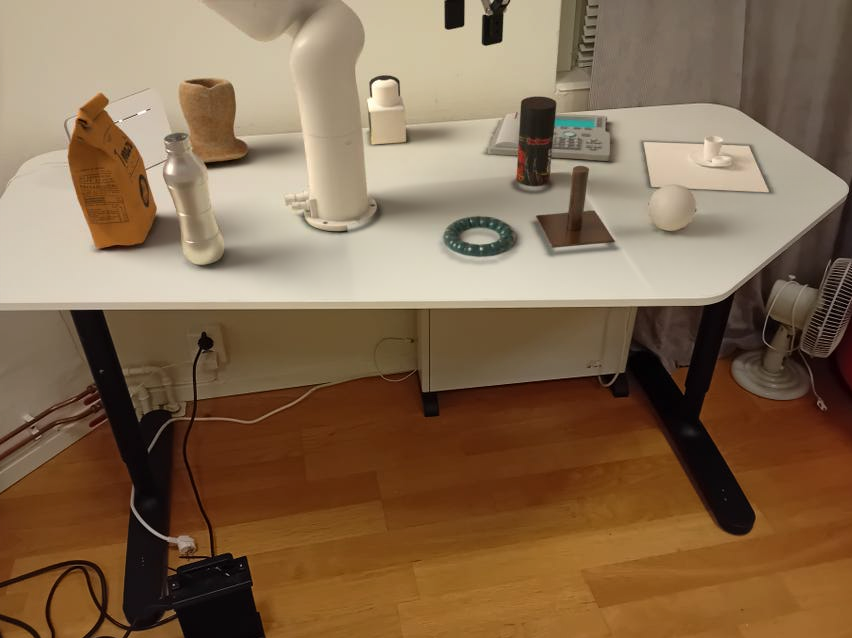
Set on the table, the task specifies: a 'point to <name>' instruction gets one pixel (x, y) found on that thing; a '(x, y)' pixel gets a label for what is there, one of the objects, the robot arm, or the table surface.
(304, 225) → the table surface
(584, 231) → the post
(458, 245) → the ring
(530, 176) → the deodorant
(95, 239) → the coffee package
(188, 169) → the plastic bottle
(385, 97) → the medicine bottle
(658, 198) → the beige ovoid
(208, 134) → the tan upright hollow piece
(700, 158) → the teacup and saucer
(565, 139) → the office telephone
